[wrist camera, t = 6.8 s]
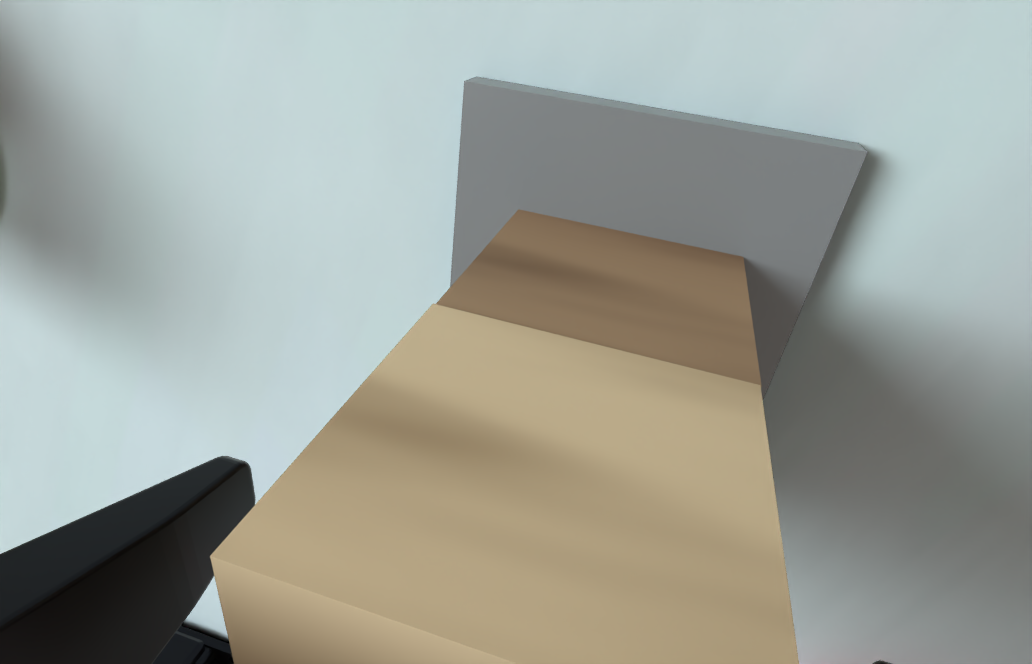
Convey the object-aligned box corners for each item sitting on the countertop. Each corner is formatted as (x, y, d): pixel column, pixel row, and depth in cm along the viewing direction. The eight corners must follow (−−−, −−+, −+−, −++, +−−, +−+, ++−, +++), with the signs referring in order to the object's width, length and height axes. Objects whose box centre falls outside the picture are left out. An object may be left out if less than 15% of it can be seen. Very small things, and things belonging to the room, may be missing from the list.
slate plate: (712, 497, 17) (712, 518, 16) (449, 423, 18) (439, 440, 18) (858, 142, 12) (867, 152, 11) (476, 76, 13) (464, 81, 12)
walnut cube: (681, 434, 15) (672, 601, 11) (496, 385, 16) (422, 523, 12) (743, 256, 13) (761, 386, 8) (518, 209, 14) (434, 305, 9)
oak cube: (670, 600, 11) (649, 969, 7) (421, 521, 12) (266, 806, 8) (760, 385, 8) (813, 766, 4) (433, 303, 9) (209, 556, 5)
